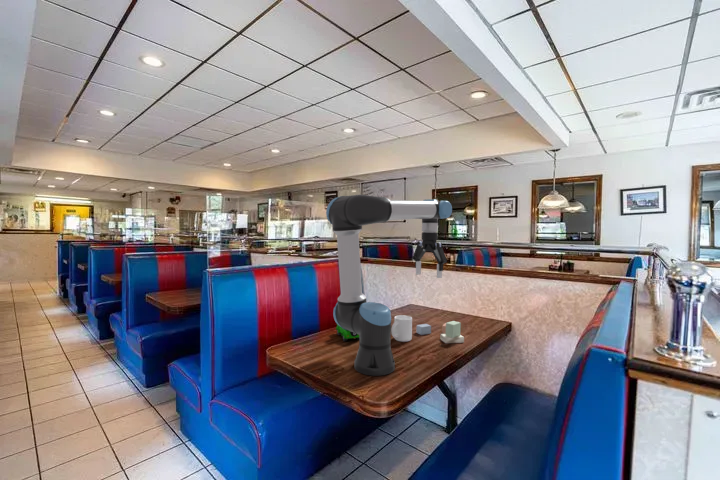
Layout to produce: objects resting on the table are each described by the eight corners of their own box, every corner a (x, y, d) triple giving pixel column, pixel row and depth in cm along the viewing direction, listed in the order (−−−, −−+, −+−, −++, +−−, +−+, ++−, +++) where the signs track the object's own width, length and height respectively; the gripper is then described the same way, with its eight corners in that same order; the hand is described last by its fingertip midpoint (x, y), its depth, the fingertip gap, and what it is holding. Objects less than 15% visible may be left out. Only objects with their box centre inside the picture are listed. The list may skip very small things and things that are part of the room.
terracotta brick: (450, 334, 170) (450, 326, 170) (442, 333, 172) (442, 325, 172) (453, 331, 176) (453, 323, 175) (445, 330, 177) (445, 322, 177)
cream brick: (445, 344, 157) (445, 337, 157) (440, 340, 163) (440, 333, 163) (463, 343, 159) (464, 337, 159) (458, 339, 165) (458, 333, 164)
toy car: (351, 331, 173) (351, 312, 173) (363, 342, 157) (363, 321, 157) (335, 333, 170) (335, 313, 170) (345, 344, 154) (346, 322, 154)
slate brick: (421, 335, 169) (421, 327, 169) (416, 333, 172) (416, 325, 172) (431, 333, 172) (431, 325, 172) (425, 331, 175) (426, 323, 175)
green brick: (452, 337, 157) (453, 324, 157) (445, 335, 160) (446, 322, 160) (460, 335, 161) (460, 322, 161) (452, 333, 164) (453, 320, 164)
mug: (397, 344, 154) (398, 322, 154) (384, 340, 160) (385, 318, 160) (415, 339, 162) (415, 317, 162) (402, 335, 168) (402, 314, 168)
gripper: (455, 232, 157) (454, 278, 158) (416, 231, 178) (415, 272, 178) (444, 232, 153) (443, 279, 153) (406, 231, 173) (404, 273, 174)
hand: (428, 276), depth 166 cm, fingers open, 13 cm apart
